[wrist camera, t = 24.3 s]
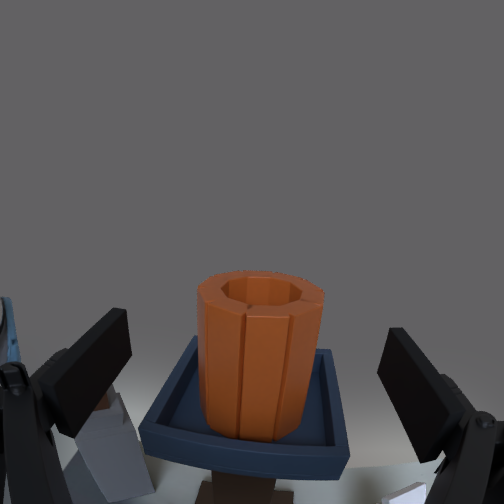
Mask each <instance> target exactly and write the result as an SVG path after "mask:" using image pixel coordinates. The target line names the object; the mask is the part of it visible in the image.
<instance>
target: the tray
mask: <svg viewBox="0 0 504 504" xmlns="http://www.w3.org/2000/svg"><path fill="white" fill-rule="evenodd" d="M138 430H139V434H140V437H141V442H142V445H143V448H144V452H145V454H146V455H150V456H153V457H157V458H160V459H164V460H168V461H172V462H176V463H180V464H184V465H188V466H193V467H198V468H203V469H208V470H211V473H212V482H207V481H202V483H201V486H200V489H199V492H198V496H197V499H196V502H195V504H293V497H294V492H291V491H275V490H274V488H275V483H276V479H290V480H339V478H340V476H341V474H342V472H343V470H344V468H345V466H346V464H347V462H348V460H349V457H350V451H349V445H348V439H347V432H346V427H345V420H344V414H343V409H342V403H341V398H340V392H339V387H338V382H337V376H336V371H335V366H334V361H333V356H332V352H331V350H330V349H316V351H315V357H314V362H313V367H312V372H311V377H310V382H309V387H308V392H307V396H306V401H305V406H304V410H303V414H302V419H301V423H300V425H298V428H297V429H296V430H294V431H292V432H291V433H289V434H287V435H286V436H284V437H283V438H281V439H279V440H278V441H274V440H273V439H272V442H271V443H261V442H252V441H244V440H239V438H238V439H230V438H227V437H225V436H223V435H221V434H220V433H218V432H216V431H214V430H212V429H211V428H210V425H207V423H206V421H205V418H204V415H203V413H202V410H201V407H200V391H199V366H198V336H194V337H193V338H192V340H191V342H190V343H189V345H188V346H187V348H186V349H185V351H184V353H183V354H182V356H181V358H180V359H179V361H178V363H177V365H176V366H175V368H174V369H173V371H172V372H171V374H170V376H169V377H168V379H167V381H166V382H165V384H164V386H163V387H162V389H161V391H160V392H159V394H158V396H157V397H156V399H155V401H154V402H153V404H152V406H151V407H150V409H149V411H148V412H147V414H146V416H145V417H144V419H143V421H142V422H141V424H140V425H139V427H138Z"/></svg>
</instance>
